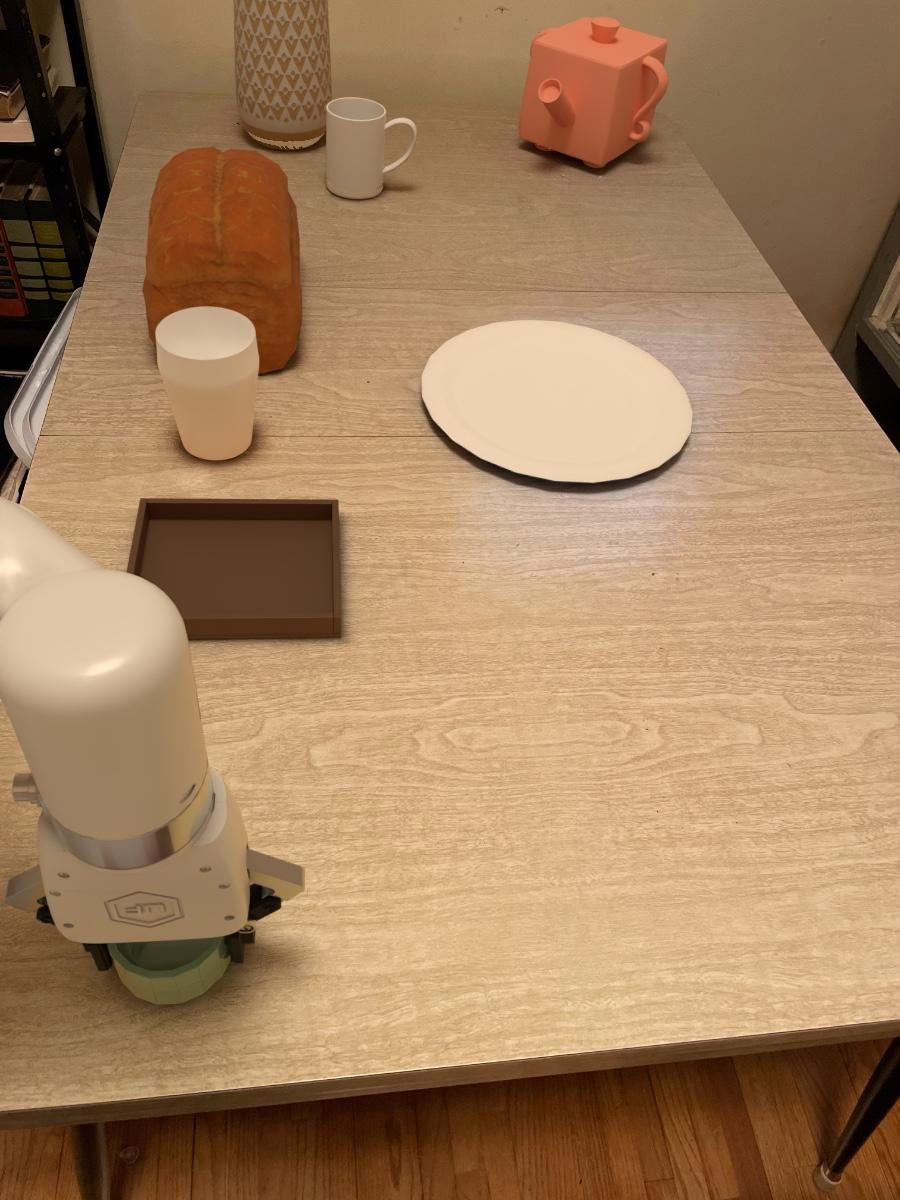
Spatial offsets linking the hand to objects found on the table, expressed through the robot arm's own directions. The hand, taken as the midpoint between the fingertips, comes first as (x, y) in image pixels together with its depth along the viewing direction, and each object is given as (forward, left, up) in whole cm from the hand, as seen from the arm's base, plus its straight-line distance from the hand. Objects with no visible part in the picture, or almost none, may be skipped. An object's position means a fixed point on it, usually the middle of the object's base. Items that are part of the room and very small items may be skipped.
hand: (174, 942), depth 59 cm
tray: (+2, +33, -1) cm, 33 cm away
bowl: (0, 0, -1) cm, 1 cm away
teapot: (+48, +124, -1) cm, 133 cm away
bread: (-1, +75, -1) cm, 75 cm away
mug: (+16, +108, -1) cm, 109 cm away
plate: (+34, +58, -1) cm, 67 cm away
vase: (+4, +124, -1) cm, 124 cm away
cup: (-1, +51, -1) cm, 51 cm away
